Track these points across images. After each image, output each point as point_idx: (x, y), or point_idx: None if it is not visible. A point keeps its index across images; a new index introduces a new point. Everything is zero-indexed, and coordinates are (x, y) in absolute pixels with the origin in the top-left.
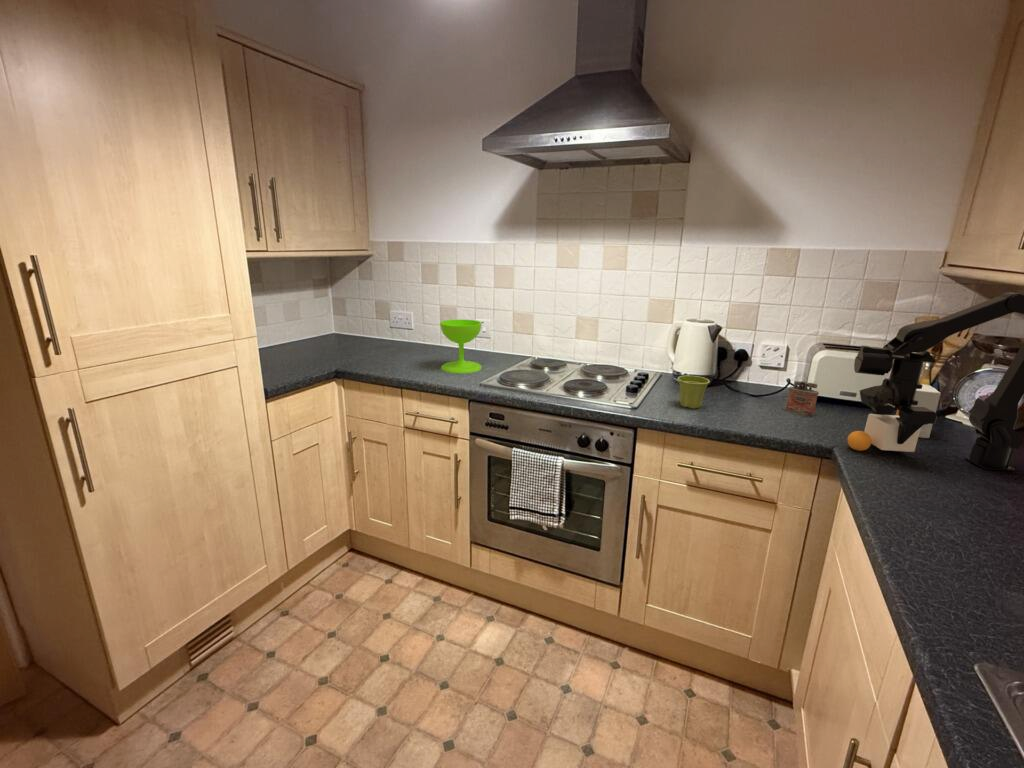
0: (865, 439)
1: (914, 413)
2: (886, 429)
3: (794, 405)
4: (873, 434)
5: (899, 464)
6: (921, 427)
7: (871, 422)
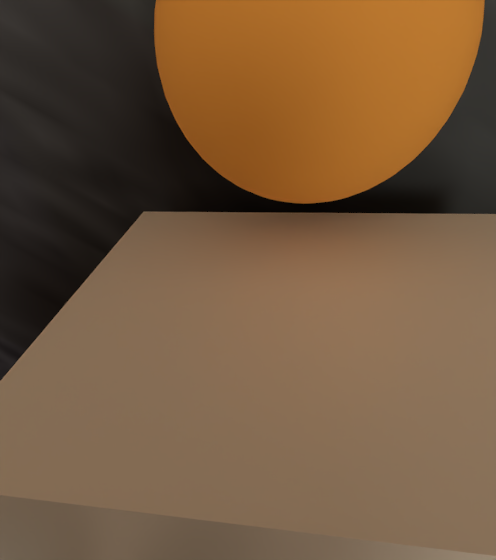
0: (159, 61)
1: None
2: (4, 386)
3: None
4: (318, 271)
5: (53, 247)
6: None
7: (481, 395)
